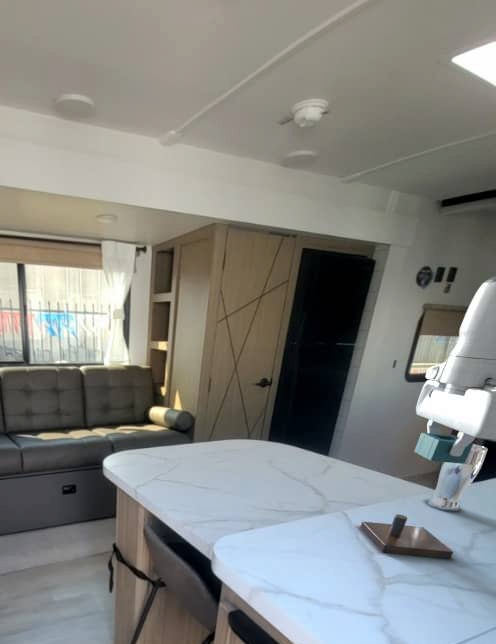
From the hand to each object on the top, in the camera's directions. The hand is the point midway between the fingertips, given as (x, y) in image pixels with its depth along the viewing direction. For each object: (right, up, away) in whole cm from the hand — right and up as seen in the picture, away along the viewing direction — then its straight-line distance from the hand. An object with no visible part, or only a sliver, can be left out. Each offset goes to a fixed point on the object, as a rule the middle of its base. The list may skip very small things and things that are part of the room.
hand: (441, 449), depth 79 cm
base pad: (-7, -18, +2) cm, 19 cm away
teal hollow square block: (0, -1, +1) cm, 2 cm away
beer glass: (+16, -11, +19) cm, 27 cm away
